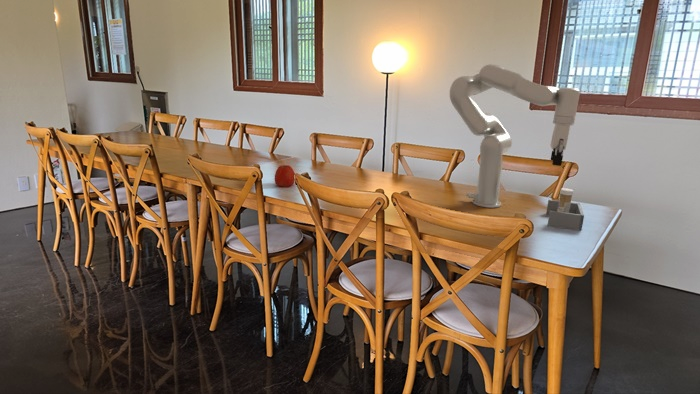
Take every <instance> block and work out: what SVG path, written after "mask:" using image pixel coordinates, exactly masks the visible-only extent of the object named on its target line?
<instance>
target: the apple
mask: <svg viewBox="0 0 700 394" xmlns="http://www.w3.org/2000/svg"><path fill="white" fill-rule="evenodd" d="M294 175H295V176H296V173H295V170H294V169H293V167H292V166H290V165H289V164H288V165H287V164H286V165H284V164H283V165H282V164H281V165H279V166H278V167H277V169H276V171H275V173H274V182H275V184H276V186H278V187H280V188H289V187H292V186H293V185H294V184H295V182H294Z"/></svg>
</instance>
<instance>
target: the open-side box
mask: <svg viewBox="0 0 700 394" xmlns="http://www.w3.org/2000/svg"><path fill="white" fill-rule="evenodd" d="M558 204H559V200H554V199H548V201H547V207H546V212H545V213H546V214H547V215H548V219H547V226H548V227H554V228H562V229H569V230H573V231H574V230H575V231H582V229H583V224H584V218H585V214H584V211H583V209H582V207H581V203H579V202H572V201H571V204H570V210H569V213H565V212H557V210H558Z"/></svg>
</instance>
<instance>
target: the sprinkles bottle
mask: <svg viewBox="0 0 700 394" xmlns="http://www.w3.org/2000/svg"><path fill="white" fill-rule="evenodd" d="M559 191H560V192H559V194H560V195H559V200H558V201H559V204H558V210H557V212H565V213H569V210H570V204H571V202H572V196H573V194H574V190H573V189H571V188H566V187H562V188H560V190H559Z"/></svg>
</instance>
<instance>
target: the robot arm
mask: <svg viewBox="0 0 700 394" xmlns="http://www.w3.org/2000/svg"><path fill="white" fill-rule="evenodd" d="M478 72H479V73H477V74H475V75H471V76H469V75H464V76H463V75H462V76H460V77H457V78H455V79H454V81H453V82H452V83H451V86H450V89H449V100H450V102H451V105H452V106H453V108H454V109H455V111H456V112H457V114H458V115H459V116H460V118H461V119H462V121H463V122H464V124H465V125H466V126H467V128H468V129H469V130H470V132H471V133H472V134H473V135H474V136H476V137H479V136H480V137H481V136H483V137H484V138H483V139H482V140H481V142H480V145H479V149H480V150H479V153H480V155H479V156H480V157H479V159H480V160H479V161H480V162H479V169H478V179H477V190H476V192H466V194H465V195H466V198H470V199H472V201H471V202H472V204H473V205H475V206H478V207H482V208H493V209H494V208H499V207H501V206H502V202H501V201H500V200H499V196H500V188H501V182H502V181H501V180H502V174H503V173H502V172H503V154H505V153H507V152H509V151H510V149H511V147H512V144H513V141H512V138H511V136H510V134H509V133H508V132H507V130H506V129H505V128H504V126H503V124H502V123H501V122H500V120H499V119H498V118H497V117H496V116H495V115H493V114H491V113H487V112H485V113H484V112H483V110H482V109H480V107H479V105H478V104H477V102H476V101H474V100H473V98H471V96H475V95H479V94H482V93H483V92H486V91H488V90H490V89H496V90H499V91H502V92H505V93H507V94H510V95H512V96H513V97H516V98H518V99H520V100H522V101H525V102H528V103H531V104H533V105H537V106H538V107H539V106H540V107H545V106H555V107H554V108H555V110H554V115H553V120H552V124H554V128H553V132H552V136H551V140H550V147H551V156H550V161H552V166H557V167H561V166H562V163H563V157H564V151H565V150H566V147H567V145H568V139H569V135H570V129H571V126H574V124H575V120H576V116H577V109H578V104H579V101H580V94H581V90H579V88H573V87H559V86H555V85H554V86H553V85H543V84H541V83H540V84H539V83H536V82H533V81H531V80H529V79H526V78H525V77H524V76H523V75H522V74H521V73H519V72H515V71H511V70H509V69H506V68H504V67H503V66H502V65H499V64H492V63H491V64H486V65H484V66H483V67H481V69H480V70H479V71H478Z"/></svg>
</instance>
